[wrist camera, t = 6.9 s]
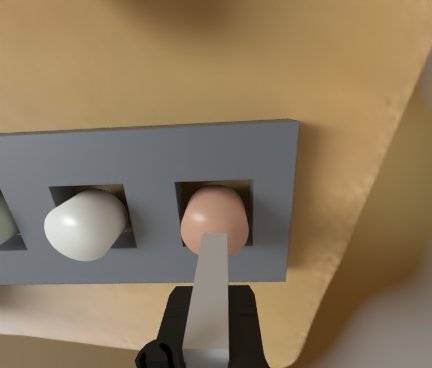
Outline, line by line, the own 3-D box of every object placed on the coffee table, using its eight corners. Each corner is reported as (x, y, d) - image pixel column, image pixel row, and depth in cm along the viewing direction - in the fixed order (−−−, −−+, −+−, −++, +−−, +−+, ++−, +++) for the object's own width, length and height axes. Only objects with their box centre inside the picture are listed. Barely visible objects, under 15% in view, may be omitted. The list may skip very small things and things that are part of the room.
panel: (-18, 266, 23) (-45, 285, 21) (-90, 137, 18) (-137, 142, 16) (278, 262, 22) (285, 281, 19) (288, 118, 16) (299, 121, 14)
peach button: (190, 236, 19) (184, 259, 16) (184, 185, 17) (176, 201, 14) (244, 234, 18) (248, 258, 16) (244, 183, 17) (248, 199, 14)
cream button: (80, 238, 19) (56, 261, 16) (64, 189, 17) (34, 206, 15) (132, 237, 19) (116, 260, 16) (121, 187, 17) (101, 204, 14)
